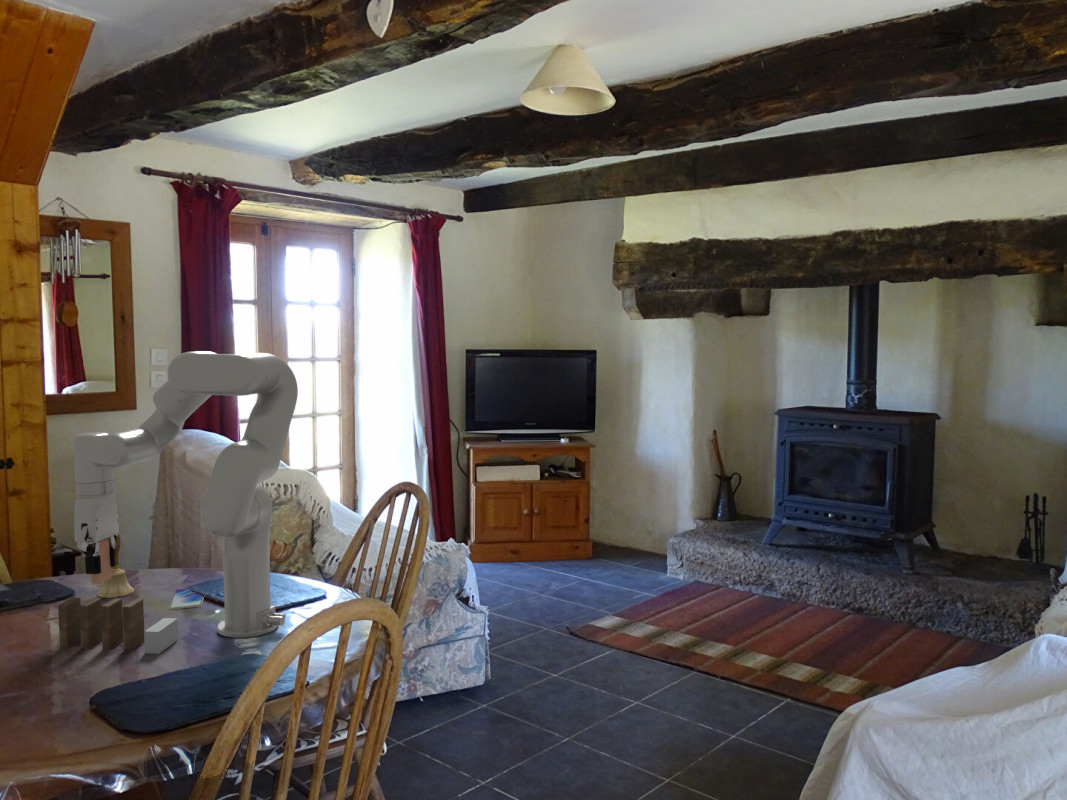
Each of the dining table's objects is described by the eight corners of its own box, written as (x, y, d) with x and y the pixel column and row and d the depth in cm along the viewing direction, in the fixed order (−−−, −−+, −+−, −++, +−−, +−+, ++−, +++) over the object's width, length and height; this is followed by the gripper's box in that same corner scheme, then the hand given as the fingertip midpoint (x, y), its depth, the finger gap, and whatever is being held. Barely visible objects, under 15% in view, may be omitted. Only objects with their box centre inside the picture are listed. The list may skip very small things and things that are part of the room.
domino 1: (81, 639, 178) (80, 597, 177) (67, 648, 173) (65, 605, 172) (74, 639, 178) (72, 597, 178) (59, 648, 173) (58, 605, 173)
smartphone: (168, 608, 197) (174, 589, 212) (168, 612, 197) (175, 593, 212) (201, 604, 199) (206, 586, 214) (202, 608, 199) (206, 589, 214)
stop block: (178, 639, 178) (177, 618, 178) (159, 653, 171) (158, 631, 170) (164, 639, 179) (163, 618, 178) (144, 653, 171) (144, 631, 170)
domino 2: (111, 577, 191) (108, 538, 190) (98, 584, 186) (96, 544, 185) (104, 578, 191) (101, 538, 190) (91, 584, 186) (89, 544, 186)
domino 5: (144, 641, 177) (143, 599, 177) (131, 650, 172) (130, 606, 172) (137, 641, 177) (135, 598, 177) (124, 650, 172) (122, 606, 172)
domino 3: (102, 640, 178) (101, 598, 177) (88, 649, 173) (87, 605, 172) (95, 640, 178) (93, 597, 177) (81, 648, 173) (79, 605, 172)
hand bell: (100, 589, 213) (98, 526, 211) (136, 587, 215) (134, 524, 214) (94, 599, 205) (91, 534, 203) (131, 596, 207) (129, 532, 206)
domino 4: (123, 640, 178) (122, 598, 177) (110, 649, 173) (108, 606, 172) (116, 640, 178) (114, 598, 177) (102, 649, 173) (101, 606, 172)
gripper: (101, 482, 196) (106, 560, 197) (55, 496, 179) (61, 581, 180) (132, 481, 195) (137, 559, 197) (89, 495, 178) (95, 581, 180)
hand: (101, 569), depth 188 cm, fingers closed on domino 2, 4 cm apart
